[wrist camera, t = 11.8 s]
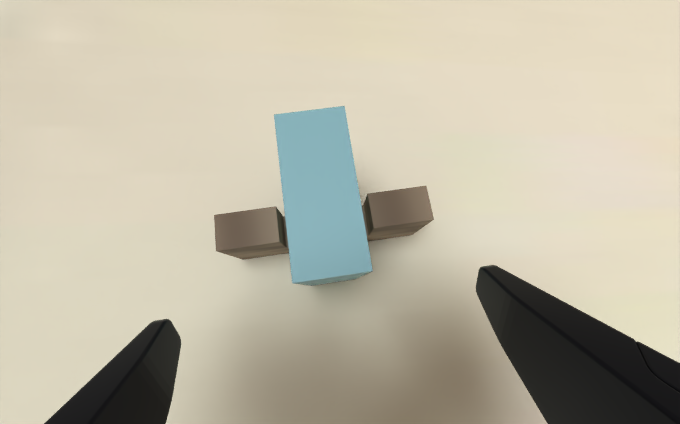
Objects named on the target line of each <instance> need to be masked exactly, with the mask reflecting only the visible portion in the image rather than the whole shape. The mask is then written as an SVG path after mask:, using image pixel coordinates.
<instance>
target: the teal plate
mask: <svg viewBox="0 0 680 424" xmlns="http://www.w3.org/2000/svg"><path fill="white" fill-rule="evenodd" d="M274 119H275V128H276V137H277V146H278V155H279V164H280V174H281V183H282V192H283V201H284V210H285V219H286V228H287V237H288V246H289V256H290V265H291V274H292V283H295V284H303V285H311V286H313V285H319V284H326V283H332V282H339V281H345V280H352V279H356V278H358V277H361V276H363V275H365V274H367V273H370V272H372V271H373V270H372V264H371V258H370V252H369V247H368V241H367V235H366V229H365V223H364V217H363V212H362V206H361V200H360V194H359V188H358V183H357V177H356V171H355V165H354V159H353V153H352V148H351V142H350V136H349V130H348V124H347V118H346V113H345V107H344V106H341V107H333V108H324V109H316V110H308V111H300V112H292V113H284V114H275V115H274Z"/></svg>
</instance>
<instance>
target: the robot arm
mask: <svg viewBox="0 0 680 424" xmlns="http://www.w3.org/2000/svg"><path fill="white" fill-rule="evenodd" d="M476 292H477V295H478V297H479V300H480V302H481V304H482V306H483V308H484V310H485V312H486V315H487V317H488V319H489V321H490V323H491V325H492V328H493V330H494V332H495V334H496V336H497V338H498V340H499V342H500V344H501V346H502V348H503V349H504V351H505V353H506V354H507V356H508V358H509V359H510V361H511V363H512V365H513V366H514V368H515V370H516V371H517V373H518V375H519V376H520V378H521V380H522V381H523V383H524V385H525V386H526V388H527V390H528V391H529V393H530V395H531V396H532V398H533V400H534V402H535V403H536V405H537V407H538V408H539V410H540V412H541V413H542V415H543V417H544V418H545V420H546V422H547V423H548V424H680V363H678V362H677V361H675V360H673V359H671V358H669V357H667V356H665V355H663V354H661V353H659V352H657V351H655V350H653V349H652V348H650V347H648V346H646V345H644V344H642V343H640V342H636V341H635V340H634V339H633V338H631V337H629V336H627V335H625V334H623V333H621V332H619V331H618V330H616V329H614V328H612V327H610V326H608V325H606V324H604V323H603V322H601V321H599V320H597V319H595V318H593V317H591V316H589V315H588V314H586V313H584V312H582V311H580V310H578V309H576V308H574V307H573V306H571V305H569V304H567V303H565V302H563V301H561V300H559V299H558V298H556V297H554V296H552V295H550V294H548V293H546V292H544V291H543V290H541V289H539V288H537V287H535V286H533V285H531V284H529V283H528V282H526V281H524V280H522V279H520V278H518V277H516V276H514V275H513V274H511V273H509V272H507V271H505V270H503V269H501V268H499V267H498V266H495V265H490V266H483V267H481V268H480V269H479V272H478V278H477V283H476ZM180 348H181V339H180V336H179V334H178V333H177V331H176V329H175V327H174V326H173V324H172V322H171V321H170V320H169V319H163V320H157V321H153V322H151V323H150V324H149V325H148V326H147V327H146V328H145V329H144V330H143V331H142V332H141V333H140V334H138V335H137V336H136V337H135V338H134V339H133V340H132V341H131V342H130V343H129V344H128V345H127V346H126V347H125V348H124V349H123V350H122V351H121V352H119V353H118V354H117V355H116V356H115V357H114V358H113V359H112V360H111V361H110V362H109V363H108V364H107V365H106V366H105V367H104V368H103V369H101V370H100V371H99V372H98V373H97V374H96V375H95V376H94V377H93V378H92V379H91V380H90V381H89V382H88V383H87V384H86V385H85V386H84V387H82V388H81V389H80V390H79V391H78V392H77V393H76V394H75V395H74V396H73V397H72V398H71V399H70V400H69V401H68V402H67V403H66V404H65V405H63V406H62V407H61V408H60V409H59V410H58V411H57V412H56V413H55V414H54V415H53V416H52V417H51V418H50V419H49V420H48V421H47V422H46V423H44V424H165V423H166V420H167V416H168V413H169V409H170V405H171V401H172V396H173V390H174V384H175V378H176V372H177V366H178V360H179V354H180Z"/></svg>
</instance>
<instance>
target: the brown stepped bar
mask: <svg viewBox="0 0 680 424" xmlns="http://www.w3.org/2000/svg"><path fill="white" fill-rule="evenodd" d="M362 212H363V217H364V223H365V229H366V235H367V241H372V240H379V239H386V238H393V237H400V236H406V235H412V234H414V233H415V232H417V231H418V230H419V229H421V228H422V227H424V226H425V225H427V224H428V223H429V222H431V221H432V220H434V218H433V214H432V209H431V205H430V200H429V196H428V192H427V187H426V186H420V187H413V188H406V189H399V190H392V191H384V192H377V193H370V194H367V197H366V200H365V203H364V205H363V206H362ZM214 220H215V239H216V251H218V252H221V253H224V254H227V255H230V256H234V257H237V258H240V259H250V258H256V257H263V256H270V255H277V254H284V253H289V246H288V237H287V228H286V219H285V216H284V217H283V216H282V214H281V213H280V212H279V210H278V209H277V207H269V208H262V209H254V210H247V211H240V212H233V213H226V214H218V215H214Z"/></svg>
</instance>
